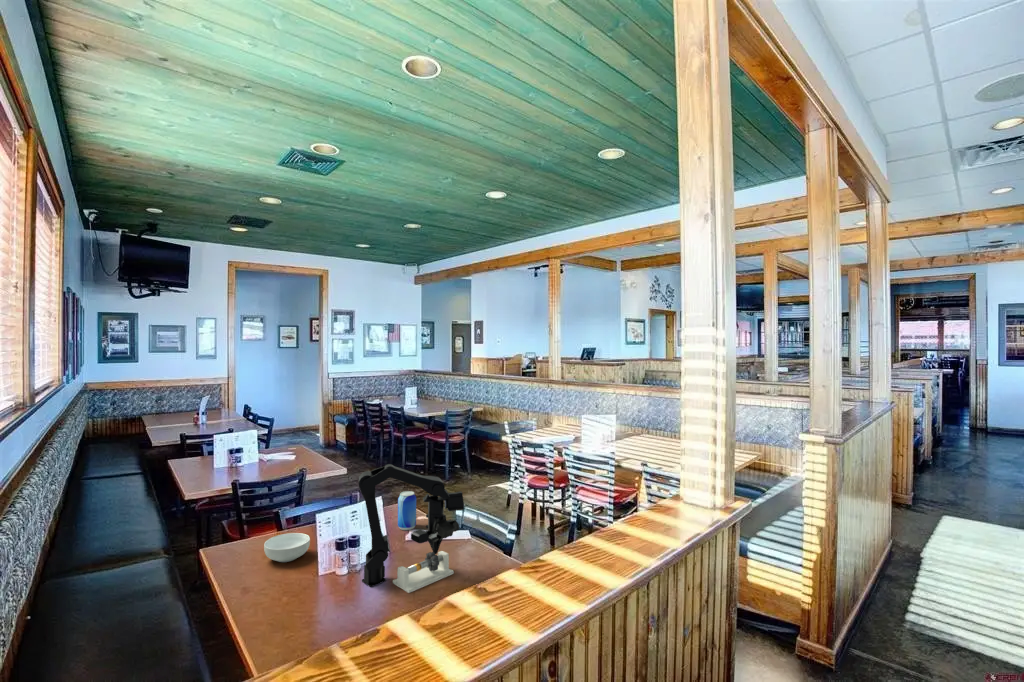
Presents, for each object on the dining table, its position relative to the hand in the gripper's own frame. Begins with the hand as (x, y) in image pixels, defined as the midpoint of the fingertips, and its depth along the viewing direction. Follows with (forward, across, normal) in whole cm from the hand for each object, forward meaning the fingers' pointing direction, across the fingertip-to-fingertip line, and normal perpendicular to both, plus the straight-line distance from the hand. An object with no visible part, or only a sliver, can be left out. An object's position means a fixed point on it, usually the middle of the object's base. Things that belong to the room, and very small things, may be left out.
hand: (435, 553), depth 185 cm
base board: (+7, -5, 0) cm, 9 cm away
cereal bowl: (+8, -33, +53) cm, 63 cm away
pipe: (+4, -5, 0) cm, 6 cm away
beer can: (+8, +19, +46) cm, 50 cm away
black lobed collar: (+6, -2, 0) cm, 6 cm away
